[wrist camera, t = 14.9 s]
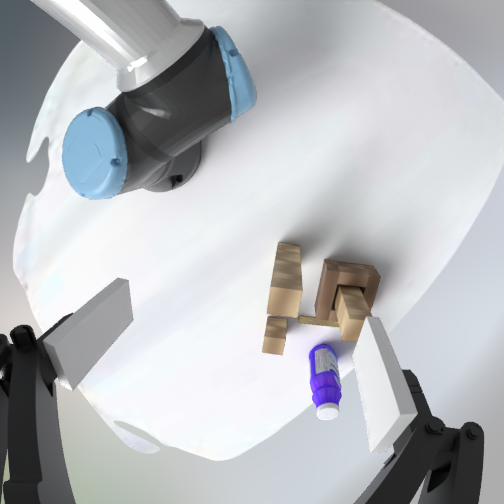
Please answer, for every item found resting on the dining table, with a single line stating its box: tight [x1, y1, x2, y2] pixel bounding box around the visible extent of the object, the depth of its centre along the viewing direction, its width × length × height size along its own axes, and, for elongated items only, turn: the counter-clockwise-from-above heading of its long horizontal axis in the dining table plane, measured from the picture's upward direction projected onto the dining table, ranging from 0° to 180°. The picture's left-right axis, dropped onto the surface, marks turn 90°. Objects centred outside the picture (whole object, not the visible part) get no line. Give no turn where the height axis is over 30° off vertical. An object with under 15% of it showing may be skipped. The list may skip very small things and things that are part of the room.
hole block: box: [315, 260, 381, 322], centre depth 49 cm, size 10×10×5 cm
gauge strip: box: [299, 316, 339, 327], centre depth 55 cm, size 15×2×1 cm, turn 85°
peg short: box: [262, 317, 287, 355], centre depth 54 cm, size 4×4×7 cm
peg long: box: [267, 243, 303, 318], centre depth 43 cm, size 4×4×18 cm
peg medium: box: [333, 284, 372, 342], centre depth 45 cm, size 4×4×15 cm
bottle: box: [309, 345, 342, 420], centre depth 50 cm, size 7×6×17 cm
